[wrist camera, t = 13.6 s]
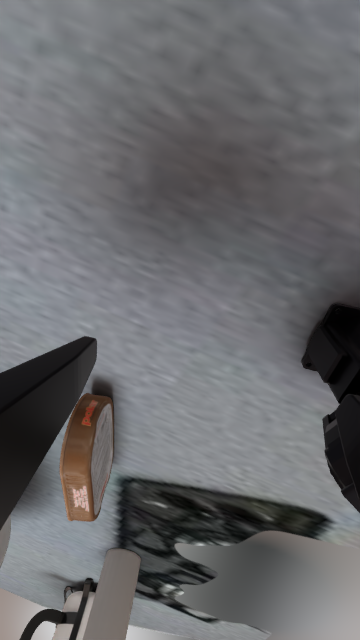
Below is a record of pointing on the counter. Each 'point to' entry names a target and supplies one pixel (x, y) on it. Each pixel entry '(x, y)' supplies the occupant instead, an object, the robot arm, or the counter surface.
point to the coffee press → (66, 615)
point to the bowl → (4, 539)
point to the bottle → (113, 596)
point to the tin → (87, 456)
